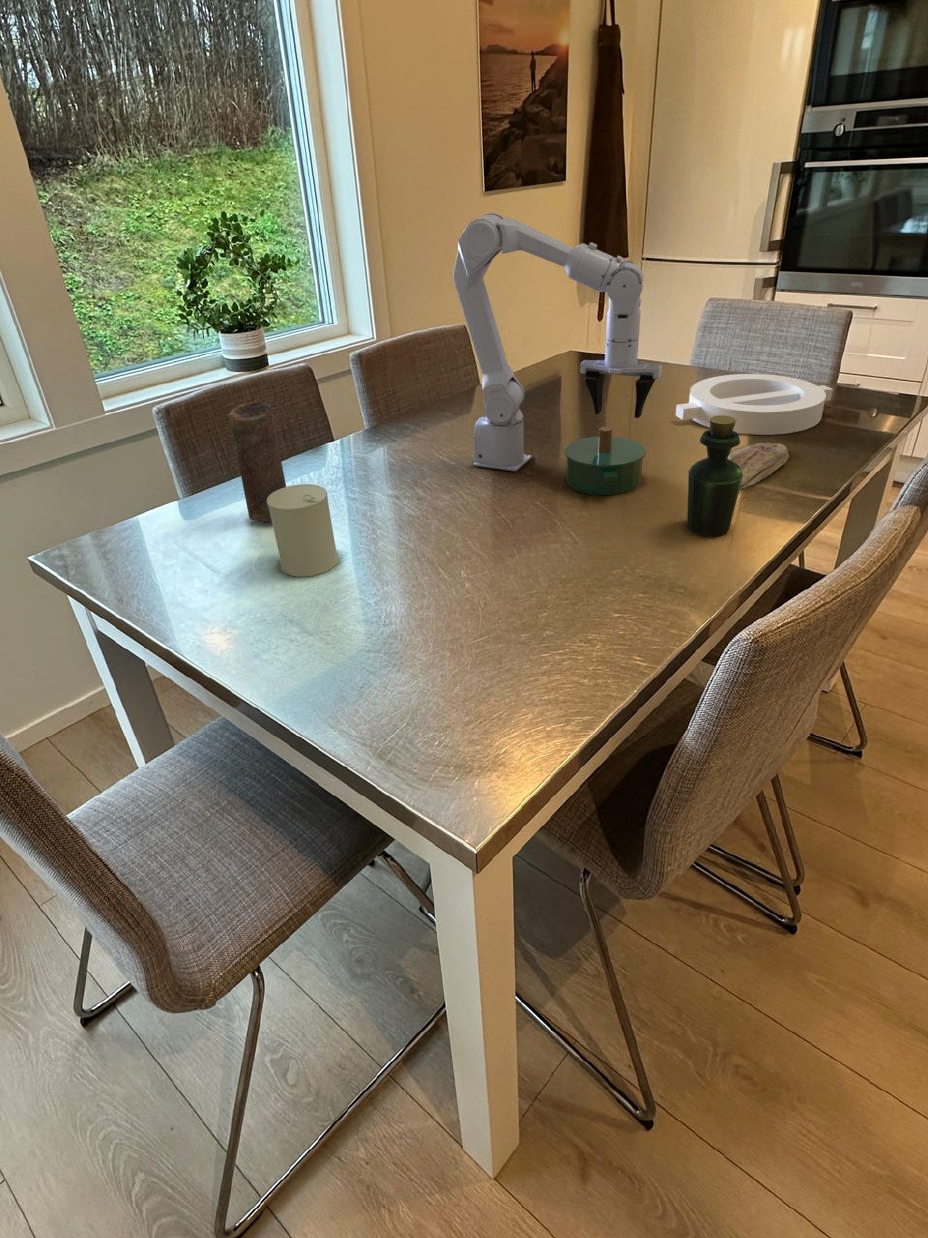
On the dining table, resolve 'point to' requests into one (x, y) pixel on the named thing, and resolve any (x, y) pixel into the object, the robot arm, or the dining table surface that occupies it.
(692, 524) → the potion bottle
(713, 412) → the white circle with bar
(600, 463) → the pot lid
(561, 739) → the dining table surface
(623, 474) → the pot
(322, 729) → the dining table surface
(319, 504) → the can
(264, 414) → the candle
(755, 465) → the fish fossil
